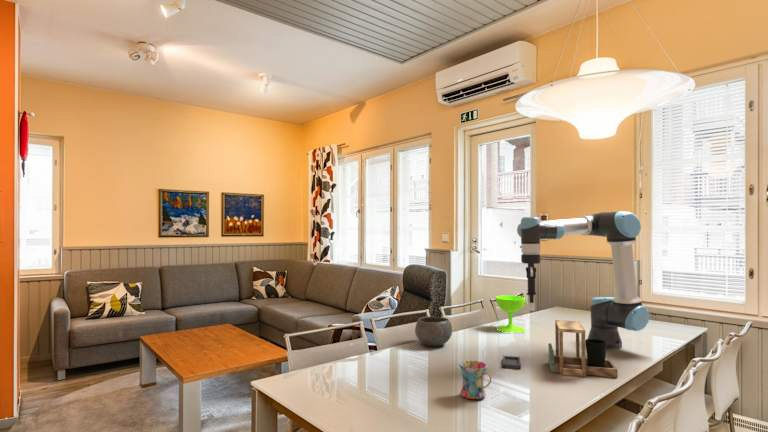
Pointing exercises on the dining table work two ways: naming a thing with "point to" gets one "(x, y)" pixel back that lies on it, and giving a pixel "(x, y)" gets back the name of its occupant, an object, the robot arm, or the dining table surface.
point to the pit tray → (511, 362)
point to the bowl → (433, 330)
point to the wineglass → (510, 311)
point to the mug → (473, 379)
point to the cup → (596, 352)
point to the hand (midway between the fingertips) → (531, 310)
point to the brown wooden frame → (576, 328)
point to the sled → (577, 364)
